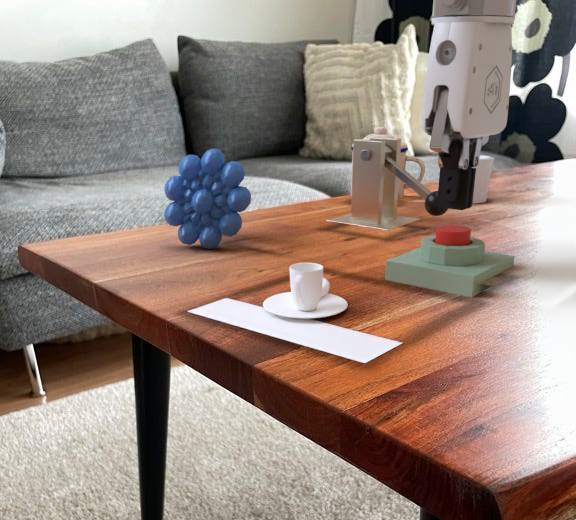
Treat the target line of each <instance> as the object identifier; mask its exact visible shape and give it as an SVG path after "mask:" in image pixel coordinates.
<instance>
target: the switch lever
mask: <svg viewBox="0 0 576 520" xmlns="http://www.w3.org/2000/svg"><path fill="white" fill-rule="evenodd" d="M375 140H376V141H380V140H379V139H375ZM391 153H392V150H391V149H390V148H388V147H387V146H386V145H385V164H384V166H385V167H386V168H387V169H388V170H389V171H391V172H392V173H393V174H394V175H395V176H397V177H398V178H399V179H400V180H401V181H403V182H404V184H406V185H407V186H409V187H410V188H409V189H411V190H412V191H413V192H414V193H416V194H417V195H418V196H419V197H420V198H421V199H423V200H424V209H425V211H426V213H427V214H429V215H430V216H433V217H440V216H442V215H444V214H446V213H447V212H448V210H449V209H448V208H441V207H438V205H437V197H438V190H434V191H431V190H430V189H429V188H428V187H426V186H425V185H424V184H423V183H421V182H419V181H418V180H417V178H415V177H414V176H413V175H412V174H411V173H410V172H408V171H407V170H406V169H405V170H404V169H403V168H402V167H401V166H400V165H398V164H397V163H396V162H395V161H394V160H392V159H391V158H390V155H391Z"/></svg>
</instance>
